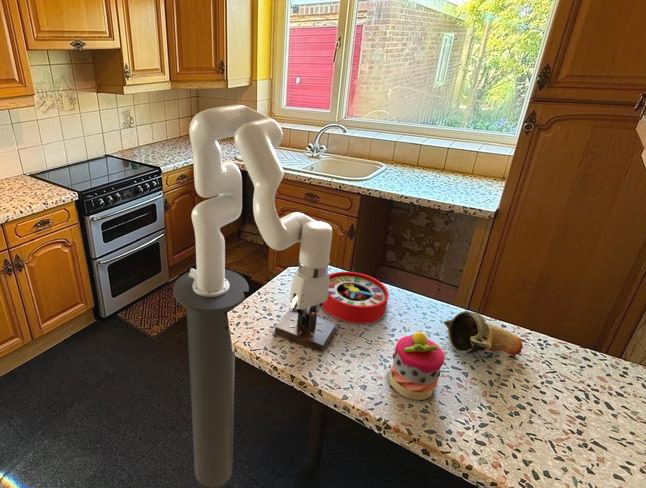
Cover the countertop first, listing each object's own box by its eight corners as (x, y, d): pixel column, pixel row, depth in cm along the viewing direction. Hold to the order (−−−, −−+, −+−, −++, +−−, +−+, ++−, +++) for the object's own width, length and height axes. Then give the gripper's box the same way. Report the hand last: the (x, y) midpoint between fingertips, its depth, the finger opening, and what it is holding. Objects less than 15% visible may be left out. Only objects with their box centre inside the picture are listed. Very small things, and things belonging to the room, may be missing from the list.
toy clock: (328, 266, 135) (391, 279, 128) (326, 281, 138) (387, 294, 131) (315, 297, 119) (385, 314, 112) (313, 313, 122) (382, 330, 114)
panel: (274, 333, 113) (275, 326, 112) (290, 313, 121) (291, 306, 120) (321, 352, 106) (322, 344, 105) (335, 330, 115) (336, 322, 113)
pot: (551, 341, 97) (485, 319, 96) (531, 382, 98) (466, 362, 97) (499, 318, 114) (443, 299, 113) (484, 353, 116) (428, 335, 114)
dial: (297, 320, 114) (298, 305, 112) (303, 318, 115) (305, 303, 113) (309, 331, 110) (311, 316, 108) (315, 329, 111) (317, 314, 109)
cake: (379, 369, 101) (391, 322, 94) (418, 365, 102) (432, 318, 95) (401, 403, 91) (415, 353, 85) (444, 398, 93) (461, 349, 86)
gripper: (327, 254, 111) (320, 309, 119) (279, 268, 104) (275, 324, 112) (346, 266, 105) (337, 323, 113) (296, 282, 98) (291, 340, 106)
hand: (306, 323), depth 112 cm, fingers closed on dial, 2 cm apart
